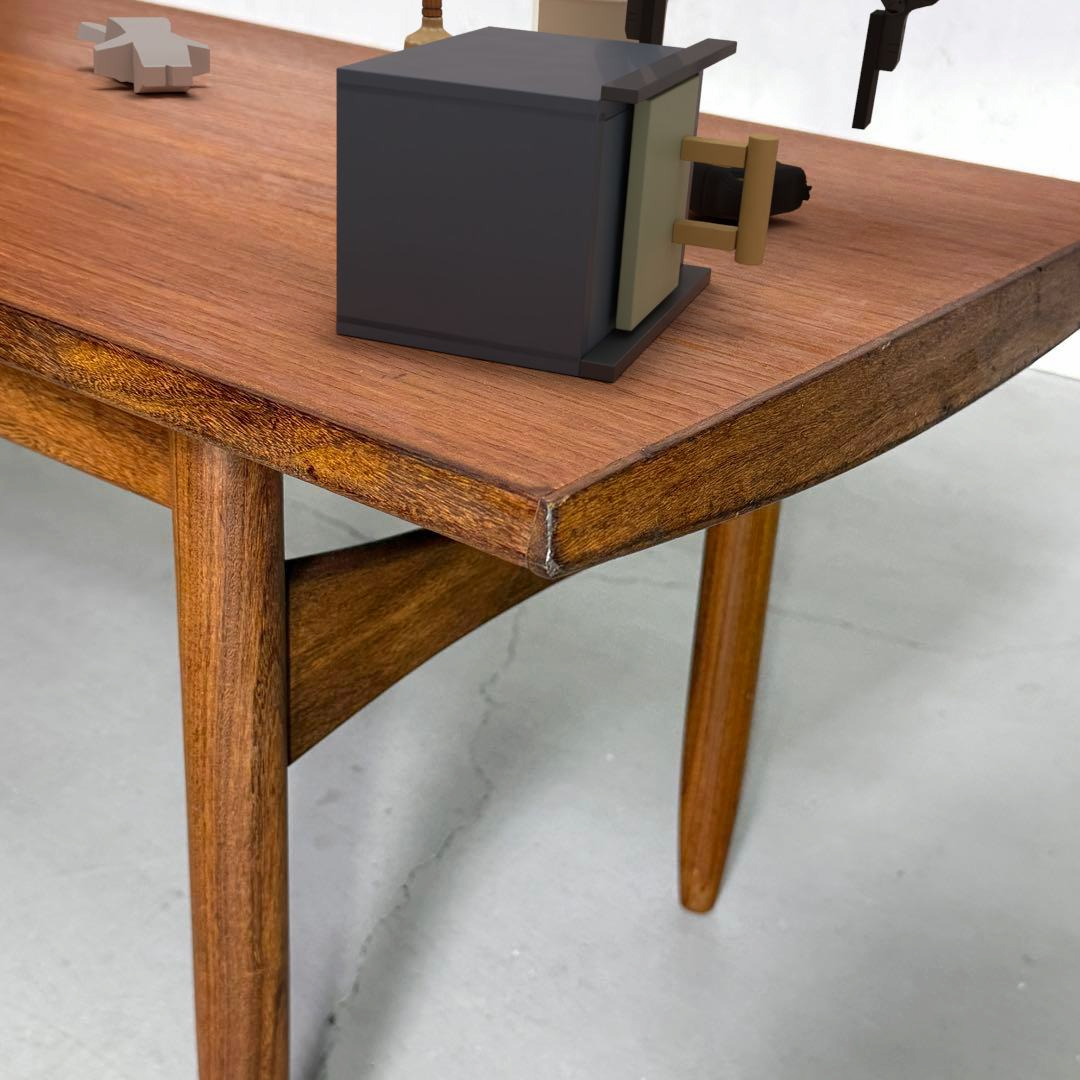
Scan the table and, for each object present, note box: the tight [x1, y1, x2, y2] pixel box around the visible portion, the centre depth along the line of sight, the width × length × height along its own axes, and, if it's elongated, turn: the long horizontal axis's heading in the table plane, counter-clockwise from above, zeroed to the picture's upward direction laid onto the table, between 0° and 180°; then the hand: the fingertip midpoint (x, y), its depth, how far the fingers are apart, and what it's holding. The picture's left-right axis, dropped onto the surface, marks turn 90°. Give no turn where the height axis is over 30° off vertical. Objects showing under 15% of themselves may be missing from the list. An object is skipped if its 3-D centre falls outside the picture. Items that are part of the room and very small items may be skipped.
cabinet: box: [335, 25, 738, 383], centre depth 72 cm, size 14×18×13 cm
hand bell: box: [403, 0, 453, 50], centre depth 120 cm, size 8×8×16 cm
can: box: [537, 0, 669, 46], centre depth 106 cm, size 9×9×12 cm
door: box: [615, 75, 780, 331], centre depth 69 cm, size 5×8×10 cm, turn 160°
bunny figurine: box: [75, 16, 211, 94], centre depth 124 cm, size 10×5×15 cm
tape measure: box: [689, 159, 813, 222], centre depth 94 cm, size 7×7×4 cm
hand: (750, 111), depth 91 cm, fingers open, 13 cm apart
